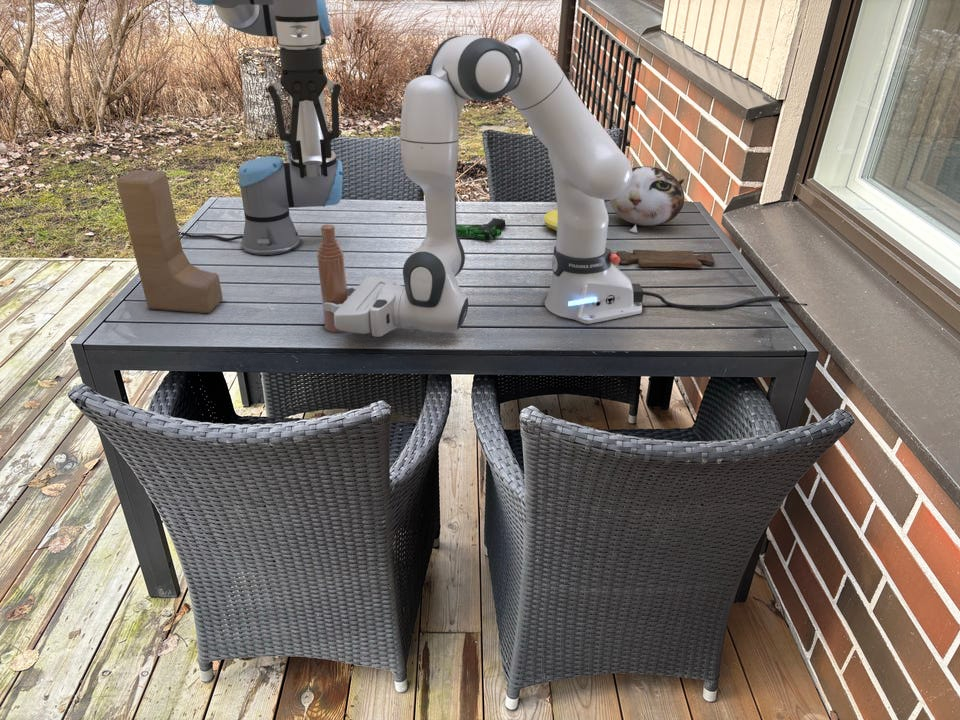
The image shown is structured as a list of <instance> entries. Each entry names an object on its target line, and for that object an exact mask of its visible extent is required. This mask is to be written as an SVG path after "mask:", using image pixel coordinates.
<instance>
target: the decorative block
mask: <svg viewBox="0 0 960 720" xmlns="http://www.w3.org/2000/svg"><path fill="white" fill-rule="evenodd" d="M116 185H117V190H118V194H119V198H120V202H121V205H122V211H123V213H124V218H125V222H126V225H127V229H128V234H129V237H130V243H131V246H132V250H133V254H134V258H135V261H136V262H135V263H136V266H137V270H138V273H139V274H138V275H139V278H140V282H141V285H142V290H143V294H144V299H145V302H146V307H147V308H148V309H150V310H162V311H163V310H164V311H177V312H187V313H188V312H190V313H200V314H201V313H202V314H209V313H211V312H212V311H213V310H214V309H215V308H216V307H217V306H218V305H219V304H221V302H222V301H223V298H224V297H223V292H222V287H221V282H220V277H219V274H218V273H216V272H211V271H208V270H207V271H206V270H202V269H199V268H198V267H196V266H195V265H193V264H191V262H190V261H189V258H188V256H187V255H186V254H185V252H184V250H183V246H182V241H181V235H179V232H180V231H179V227H178V222H177V217H176V213H175V208H174V203H173V198H172V194H171V189H170V185H169V180H168V175H167V173H166V171H159V170H143V169H135V170H132V171H130V172H128V173H127V174H125V175H122V176H121V177H119V178H116Z"/></svg>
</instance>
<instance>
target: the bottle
mask: <svg viewBox="0 0 960 720" xmlns="http://www.w3.org/2000/svg"><path fill="white" fill-rule="evenodd" d="M335 228H336V227H335V225H334V224H323V225H321V226H320V231H321V238H322V240H321V241H320V244H319V248H318V251H317V256H316V259H317V267H318V276H319V277H318V278H319V285H320V295H321V304H322V306H323V304H324V303H325V302H326V301H327V300H328V301H333V302H334V304H337V305H338V304H343V303H344V302H345V301H346V299H347V298H348V297H349V296H348V295H347V287H348V285H347V284H348V283H347V273H346V262H345V254H344V251H343V249H342V247H341V246H340V244H339V242H338V239H336V229H335ZM322 313H323V321H324V329H325V330H326V331H328V332H332V333H339V332H340V333H341V332H342V331H340V330H338V329H337V328H336V327H335V324H334V313H332V312H331V311H325V310H324V309H323V308H322Z"/></svg>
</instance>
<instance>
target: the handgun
mask: <svg viewBox="0 0 960 720" xmlns="http://www.w3.org/2000/svg"><path fill="white" fill-rule="evenodd" d="M505 228H506V220H505V219H503V218H497V217H492V219H491V220H490V221H489V222H488V223H483V224H482V225H479V224H472V225H459V224H457V233H458V236H459V237H462V238H469V239H470V238H471V239H474V240H479V241H484V242H491V241H492V240H494V239H495V238H497V237H500V236H502V230H504V229H505Z"/></svg>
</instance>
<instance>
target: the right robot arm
mask: <svg viewBox="0 0 960 720" xmlns="http://www.w3.org/2000/svg"><path fill="white" fill-rule="evenodd" d="M505 95H507V96H508V97H509V99H510V100H511V102H512V104H513V105H514V107H515V108H516V109H517V111H518V112H519V114H520V115H521V116H522V118H523V119H524V121H525V122H526V124H527V125H528V126H529V128H530V129H531V131H532V132H533V133H534V135H535V136H536V138H537V140H539V142H541V144H542V145H544V147H545V148H546V149H547V150H548V151H547V154H548V156H547V157H548V160H549V163H550V166H551V168H552V173H553V182H554V191H555V200H556V207H557V210H558V222H557V231H556V238H555V245H554V246H553V253H552V261H551V269H552V270H551V271H552V277H551V281H550V286H549V290H548V293H547V296H546V298H545V300H544V306H545V308H546V309H547V310H548V311H549V312H550V313H552V314H554V315H556V316H558V317H562V318H565V319H571V320H575V321H577V322H580V323H582V324H584V325H585V324H586V325H591V324H596V323H601V322H606V321H611V320H615V319H620V318H625V317H631V316H635V315H640V314H642V312H643V304H642V303H643V300H644V296H649V297H654V298H657V299H659V300H660V301H661V302H662V304H664V305H666V306H669V307H672V308H679V309H691V310H692V309H695V310H722V309H729V308H734V307H738V306H741V305H744V304H748V303H754V302H759V301H766V300H790V299H789V296H790V295H764V296H759V297H753V298H752V297H751V298H747V299H743V300H740V301H736V302H733V303H728V304H720V305H719V304H718V305H700V304H699V305H696V304H678V303H673V302H670V301H667V300H666V299H665V298H664V297H663V296H662V295H660V294H658V293H655V292H651V291H645V290H643V288H642V285H641V284H640V283H632V282H631V280H630V278H629V277H628V275H626V274H625V273H624V272H622V271H621V270H620V269H619V268H618V267H616V266H617V265H618V264H619V262H620V258H619V257H618V256H617V254H616V253H613V251H612V250H611V249H609V248H608V247H607V238H608V229H609V213H608V210H607V207H606V204H605V201H610V200H611V199H615V198H617V197H619V196H620V195H621V194H623V193H624V192H625V190H626V189H627V188H628V186H629V184H630V182H631V179H632V168H633V166H632V164H631V161H630V160H629V158H628V157H627V156H626V154H624V152H623V151H622V150H621V149H620V148H619V146H618V145H617V143H616V142H615V141H614V140H613V138H612V137H611V136H610V134H609V133H608V132H607V130H606V129H605V128H604V126H603V125H601V123H600V122H599V121H598V119H597V118H596V117H595V116H594V115H593V113H592V112H591V111H590V110H589V109H588V108H587V106H586V105H585V104H584V102H583V100H582V99H581V98H580V96H579V95H578V93H577V92H576V89H575V88H574V87H573V85H572V84H571V82H570V81H569V79H568V77H567V76H566V74H565V72H564V71H563V70H562V68H561V66H560V65H559V64H558V62H557V61H556V60H555V58H554V57H553V55H552V54H551V53H550V52H549V51H548V49H546V47H545V46H544V45H543V44H542V43H541V42H540V41H539V40H538V39H537V38H536V37H535V36H533V35H532V34H529V33H517V34H515V35H512V36H511V37H509V38H507V39H506V40H505V41H504V42H503V41H501V40H499V39H497V38H493V37H489V36H488V37H486V36H482V35H478V34H466V35H452V36H450V37H448V38H446V39H444V40H443V41H441V42H440V43H439V45H437V47H436V48H435V50H434V53H433V55H432V57H431V61H430V63H429V65H428V66H427V69H426V71H425V73H424V75H421V76H418V77H415V78H414V79H412V80H410V81H409V83H407V85H406V87H405V90H404V94H403V99H402V105H401V106H402V107H401V115H400V131H399V133H400V135H399V138H400V140H399V143H400V157H401V162H402V163H401V165H402V168H403V172H404V174H405V175H406V176H407V178H408V179H409V180H410V181H411V182H412V183H414V184H416V185H418V186H419V187H420V189H421V190H422V192H423V195H424V200H425V217H426V218H425V219H426V221H425V222H426V234H425V237H424V239H423V240H422V243H421V245H419V247H418V248H417V249H415V250H414V251H413V252H412V253H411V254H410V255H409V256H408V257H407V258H406V260H405V262H404V264H403V267H402V277H403V278H402V279H403V285H402V283H396V281H395V280H393V279H391V278H387V277H382V276H375V275H370V276H366V277H364V279H363V280H362V281H361V283H360V284H358V285H353V286H347V295H348V298H347V299H346V301H345V302H344V303H343V304H338V305H337V304H334V302H333V301H328V300H327V301H326V302H325V303H324V304H323V305H322V310H323V309H324V310H325V311H331V312H332V313H334V324H335V327H336V328H337V329H338V330H340V331H341V332H344V333H345V332H346V333H353V334H361V335H366V334H371V336H372V337H375V338H380V337H383V336H384V335H386V334H387V333H389V332H391V331H394V330H396V329H397V328H399V329H410V328H414V329H418V330H420V331H422V332H431V333H432V332H433V333H453V332H457V331H459V329H460V328H461V327H462V326H463V324H464V322H465V319H466V318H467V315H468V309H469V298H468V297H467V296H466V295H465V293H464V292H463V290H462V289H461V287H460V286H459V284H458V282H457V279H456V277H457V276H458V275H459V274H460V273H461V272H462V270H463V268H464V267H465V264H466V263H465V262H466V253H465V250H464V247H463V243H462V242H461V239H460V236H458V233H457V225H458V224H457V195H456V194H457V192H456V191H457V190H456V183H457V172H458V171H457V170H458V162H459V161H458V160H459V149H460V147H459V146H460V145H459V144H460V129H459V128H460V127H459V125H460V124H459V122H460V118H461V114H462V110H463V109H464V106H465V105H466V104H467V102H468V101H477V102H481V103H482V102H483V103H485V102H491V101H495V100H497V99H500V98H501V97H503V96H505Z"/></svg>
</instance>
